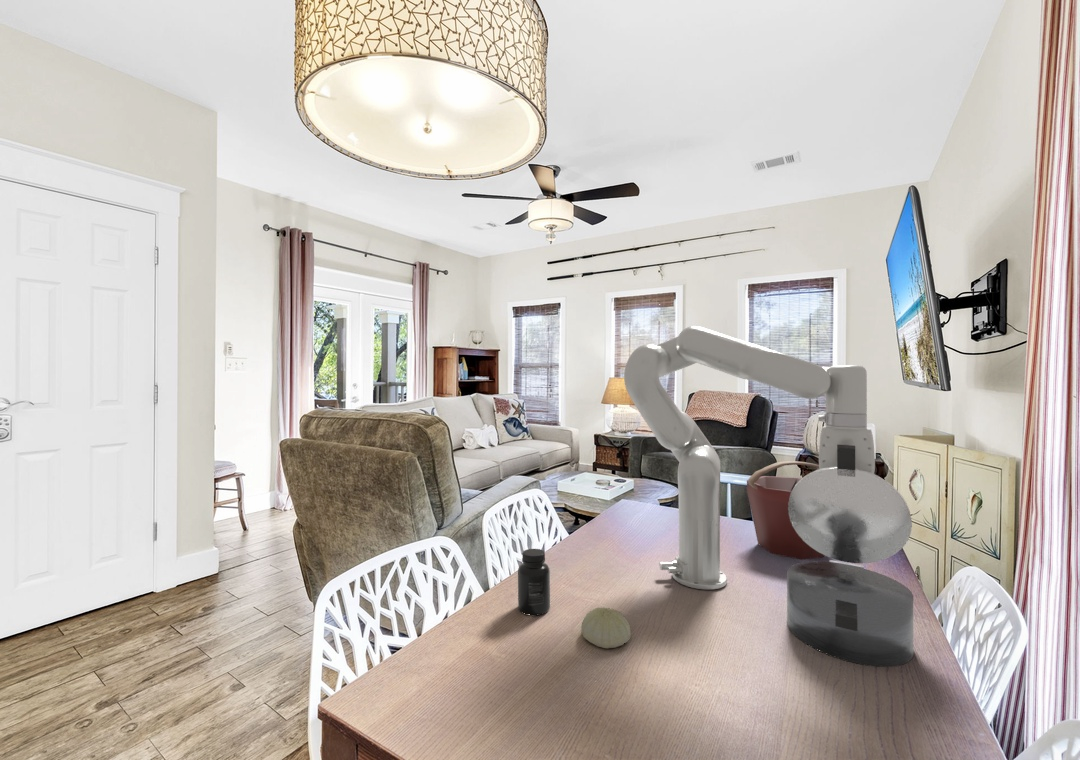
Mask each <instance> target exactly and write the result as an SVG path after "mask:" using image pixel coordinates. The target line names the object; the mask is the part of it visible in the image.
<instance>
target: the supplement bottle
mask: <svg viewBox="0 0 1080 760" xmlns="http://www.w3.org/2000/svg"><path fill="white" fill-rule="evenodd" d="M521 559H522V561H521V562H522V563H520V565H519V566H518V569H517V600H518V601H517V607H518V610H519V612H521V613H522V612H523V613H522V614H524V613H525V614H524V615H526V614H530V615H529V616H532V615H536V616H538V615H537V614H542V613H544V614H546V613H547V612H548V611H549V610H550V608H551V574H550V573H551V572H550V571H551V570H550V567H549V565H548V564H547V563H545V562H546V552H545V551H544V550H543V549H540V548H529V549H526V550H523V551H522V558H521ZM545 612H546V613H545ZM542 615H543V614H542Z"/></svg>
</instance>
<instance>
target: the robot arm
mask: <svg viewBox="0 0 1080 760" xmlns="http://www.w3.org/2000/svg"><path fill="white" fill-rule="evenodd" d="M695 364H700V365H703V366H706V367H708V368H710V369H714V370H716V371H719V372H722V373H724V374H727V375H731V376H734V377H736V378H738V379H742V380H747V381H754V382H757V383H760V384H764V385H767V386H770V387H773V388H775V389H778V390H782V391H784V392H786V393H790V394H793V395H794V396H796V397H799V398H802V399H808V400H813V399H815V400H816V399H818V398H820V397H823V396H824V397H825V413H824V414H822V415H820V414H819V415H818V422H822V423H824V424H825V425H824V426H822V428H821V431H820V435H819V446H818V447H819V448H818V465H819V469H822V468H828V467H837V445H853V446H855V468H857V469H861V470H865V471H867V472H870V473H873V474H875V475H876V473H875V469H876V459H875V458H876V457H875V455H876V454H875V442H874V441H875V440H874V436H873V432H872V429H871V428H870V427H868V398H867V396H868V395H867V394H868V393H867V392H868V389H867V388H868V386H867V385H868V384H867V383H868V380H867V379H868V378H867V375H868V374H867V370H866V367H864V366H863V365H856V364H847V365H846V364H843V365H831V366H821V365H819V364H816V363H814V362H810V361H808V360H805V359H801V358H798V357H795V356H792V355H789V354H785V353H782V352H779V351H776V350H772V349H769V348H767V347H764V346H761V345H758V344H756V343H752V342H749V341H745V340H742V339H739V338H735V337H732V336H730V335H727V334H724V333H720V332H717V331H714V330H712V329H708V328H706V327H702V326H698V325H697V326H696V325H692V326H687V327H685V328H684V329H682V330H681V331H680V333H679V335H678V336H676V337H674V338H671V339H669V340H667V341H663V342H662V343H659V344H657V345H655V344H650V343H649V344H648V343H647V344H642V345H640V346H638V347H637V348H635V349H634V350H633V351H632V352H631V354H630V355H629V357H628V359H627V361H626V364H625V367H624V371H623V373H624V374H623V379H624V385H625V389H626V392H627V394H628V396H629V398H630V399H631V401H632V402H633V404H634V406H635V408H636V409H637V410H638V412H639V414H640V415H641V417H642V418H643V420H644V422H645V423H646V424H647V426H648V428H649V429H650V430H651V432H652V434H653V435H654V437H655V439H656V440H657V442H658V444H660V446H662V447H663V448H665V449H667V450H669V451H671V452H672V454H673V456H675V459H676V460H677V461H678V462H679V463H678V468H677V488H678V489H677V490H678V491H677V492H678V556H675V557H674V560H671V561H659V563H658V564H659V565H658V566H659V570H660V571H667V572H668V574H672V575H671V576H672V578H673V579H674V580H675V582H677V583H678V584H681V585H683V586H685V587H689V588H692V589H698V590H709V591H710V590H712V591H713V590H719V589H722V588H723V587H725V586H727V583H728V577H727V575H726V574H725V573H724V572H723V571H721V496H720V495H721V494H720V493H721V487H720V486H721V459H720V456H719V454H718V453H717V451H716V450H715V448H714V447H713V446H712V443H710V442H709V440H708V439H707V437H706V436H705V434H704V433H703V431H702V430H701V429H700V427H699V426H698V425H697V423H696V421H695V420H694V419H693V418H692V417H691V416H690V415H689V414H688V413H687V412H685V411H682V410H680V409H679V408H678V406H677V405H676V404H675V402H674V401H673V399H672V398H671V396H670V394H669V393H668V392H667V390H666V389H665V387H664V386H663V385H662V383H661V380H660V378H661V377H664V376H667V375H670V374H673V373H674V372H678V371H680V370H682V369H685V368H688V367H690V366H692V365H695Z"/></svg>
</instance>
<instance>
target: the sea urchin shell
mask: <svg viewBox="0 0 1080 760" xmlns="http://www.w3.org/2000/svg"><path fill="white" fill-rule="evenodd" d="M580 631H581V635H582V636H583V639H585V640H587V642H589V643H590V644H593V645H594V646H596V647H599V648H603V649H615V648H618V647H622V646H623V645H625V644H626V643H628V641H629V640H630V639H631V636H632V633H631V632H632V631H631V626H630V623H629V621H628V620H627V618H626V617H625V616H624V615H623V614H622V613H621V612H620V611H619V610H615V609H613V608H610V607H595V608H593V609H591V610H590V611H588V612H587V613H586V615H585V616H584V617H583V619H582V621H581V628H580ZM624 643H625V644H624Z"/></svg>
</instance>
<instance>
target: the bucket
mask: <svg viewBox="0 0 1080 760" xmlns="http://www.w3.org/2000/svg"><path fill="white" fill-rule="evenodd" d="M792 465H793V466H794V465H797V466H798V465H802V466H809V467H814V468H816V470H819V464H817V463H816V464H815V463H811V462H805V461H796V460H795V461H793V460H790V461H789V460H788V461H787V460H786V461H777V462H775V463H772V464H770V465H767V466H765V467H763V468H761V469H759V470H756V471H754V472H753V474H752V475H750V477H749V478H748V480H746V493H747V497H748V502H749V506H750V511H751V512H750V513H751V516H752V521H753V522H752V523H753V525H754V531H755V536H756V540H757V545H759V544H760V545H761V546H760V545H759V546H760V547H761V548H763V547H764V548H765V549H764V548H763V549H764V550H765V551H767V552H769V553H770V554H772V555H778V556H782V557H788V558H792V559H797V560H800V561H801V560H809V559H817V558H825V555H823V554H821V553H819V552H818V551H816V550H814V549H813V548H812V547H810V546H809V545H808V544H807V543H805V542H804V541H803V540H802V539H801V538H800V536H799V535H798V534H797V532H796V531H795V529H794V527H793V526H792V523H791V521H790V517H789V512H788V503H789V498H790V495H791V492H792V490H793V488H794V487H795V485H796V484H797V483H798V482H799V481H800V480H801V479H802V478H803V477H796V476H795V477H794V476H793V477H792V476H773V475H772V476H769V475H768V476H767V475H765V474H768V473H770V472H772V471H775V470H777V469H780V468H782V467H784V466H792Z"/></svg>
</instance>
